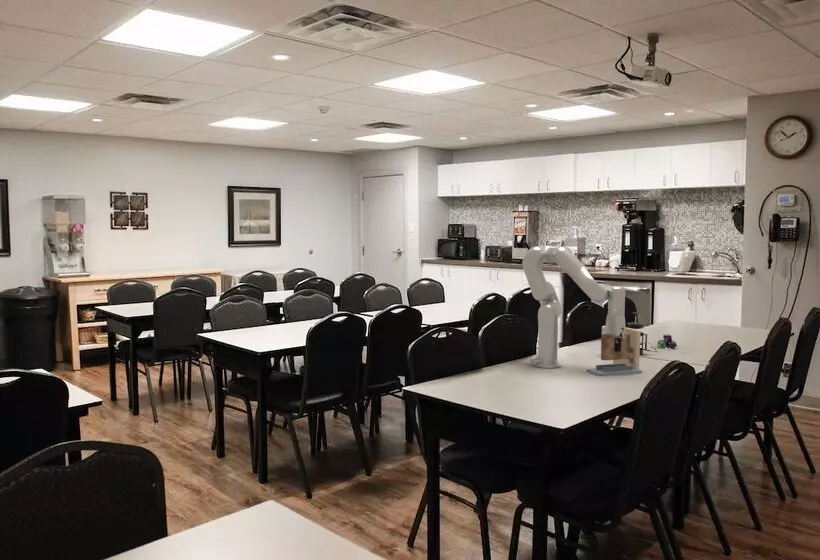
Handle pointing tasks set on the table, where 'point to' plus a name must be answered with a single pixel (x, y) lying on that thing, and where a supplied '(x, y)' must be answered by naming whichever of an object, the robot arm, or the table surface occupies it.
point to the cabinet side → (623, 364)
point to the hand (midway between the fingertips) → (615, 350)
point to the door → (609, 347)
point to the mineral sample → (667, 342)
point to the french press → (640, 326)
